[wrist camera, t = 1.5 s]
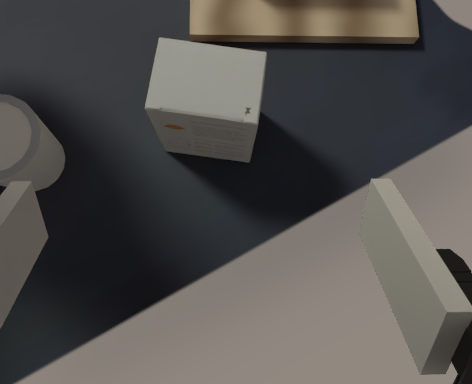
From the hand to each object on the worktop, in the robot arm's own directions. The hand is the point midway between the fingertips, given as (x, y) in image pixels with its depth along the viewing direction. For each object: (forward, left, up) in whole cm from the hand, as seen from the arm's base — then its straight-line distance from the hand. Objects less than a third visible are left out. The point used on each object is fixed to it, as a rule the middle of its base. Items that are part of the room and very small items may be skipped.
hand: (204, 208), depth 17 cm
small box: (0, +11, -21) cm, 24 cm away
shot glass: (-16, +8, -21) cm, 28 cm away
